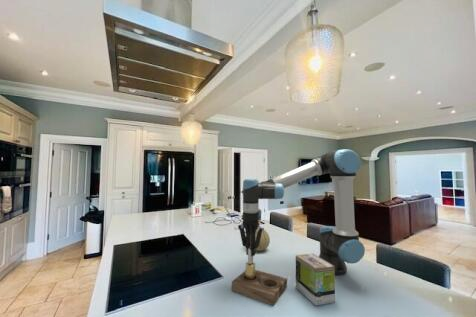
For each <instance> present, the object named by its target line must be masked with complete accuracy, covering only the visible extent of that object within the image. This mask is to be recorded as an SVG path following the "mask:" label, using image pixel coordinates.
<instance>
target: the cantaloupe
mask: <svg viewBox="0 0 476 317" xmlns="http://www.w3.org/2000/svg"><path fill="white" fill-rule="evenodd" d="M257 233H258V228H257V230H256V233H255V241H256V237H257ZM270 243H271V240H270V235H269V233H268V232H267V231H266V230H265V229H264V230H263V232H262V234H261V239H260V243H259V247H258V248H256V249H255V252H256V251H257V252H262V251H264V250H266V249H267V248H268V247H269V246H270Z"/></svg>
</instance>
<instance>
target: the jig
mask: <svg viewBox="0 0 476 317" xmlns="http://www.w3.org/2000/svg"><path fill="white" fill-rule="evenodd" d="M287 287H288V278H287V277H283V276H279V275H276V274H272V273H269V272H265V271H261V270H256V269H255V280H246V270H244V271H243V272H241V273H240V274H239V275H238V276H237V277H236V278H234V279H233V280H231V291H232V292H234V293H237V294H240V295H243V296H245V295H246V297H248V298H251V299H254V300H257V301H259V300H260V302H262V303H265V304H269V305H272V306H275V305H276V303H277V302H278V301H279V299H280V298H281V296H282V295H283V293H284V292H285V291H286V290H287Z"/></svg>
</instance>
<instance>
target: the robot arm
mask: <svg viewBox="0 0 476 317" xmlns="http://www.w3.org/2000/svg"><path fill="white" fill-rule="evenodd" d="M360 158H361V157H360V156H359V154H358V153H357V152H355V151H354V150H352V149H348V148H346V149H344V148H343V149H338V150H332V151H328V152H326V153H324V154H321V155H319V156H317V157H316V158H312V159H311V161H310V162H309V163H306V164H304V165H301V166H298V167H295V168H294V169H292V170H288V171H287V172H284V173H283V174H280V175H277V176H275V177H273V178H270V179H267V180H264V181H260V182H259V179H257V178H245V179H243V182H242V211H243V212H242V223H241V224H239V225H238V226H237V227H238V230H239V234H240V239H241V242H242V243H241V245H242V247H244V248H246V252H245V253H246V256H247V262H248V263H249V264H251V263H252V262H253V263H254V257H255V255H256V250H255V249H256V248H258V247H259V243H260V239H261V234H262V232H263V230H265V228H264V227H262V226H260V222H259V218H260V217H259V215H260V213H259V211H260V208H259V200H280V199H283V197H284V196H285V189H286V188H288V187H291V186H293V185H296V184H298V183H300V182H303V181H305V180H307V179H310V178H312V177H314V176H322V175H325V174H330V175H329V176H330V178H331V180H333V195H334V198H333V200H334V218H335V222H334V223H335V226H334V225H333V226H332V225H325V226H324V225H323V226H321V227H320V228H319V255H318V257H320V258H322V259H323V260H325V261H327V262H329V263H330V264H332V265H334V267H335V277H336V276H339V277H340V276H345V275H346V274H347V273H348V268H347V265H346V263H347V264H358V263H359V262H360V261H361V260H362V259H363V258H364V256H365V253H366V252H365V251H366V249H365V246H364V244H363V243H362V242H361V241H360V234H359V231H357V230H356V224H355V223H356V222H355V202H354V201H355V200H354V199H355V198H354V179H355V178H356V177H357V172H358V171H359V169H360V168H361V159H360ZM257 228H258V233H257V237H256V241H255V233H256V230H257Z"/></svg>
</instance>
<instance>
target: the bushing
mask: <svg viewBox="0 0 476 317" xmlns="http://www.w3.org/2000/svg"><path fill="white" fill-rule="evenodd" d="M255 270H256V263H255V262H254V261H253V262H252V263H251V264H249V263H248V261H247V262H245V271H246V280H255Z"/></svg>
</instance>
